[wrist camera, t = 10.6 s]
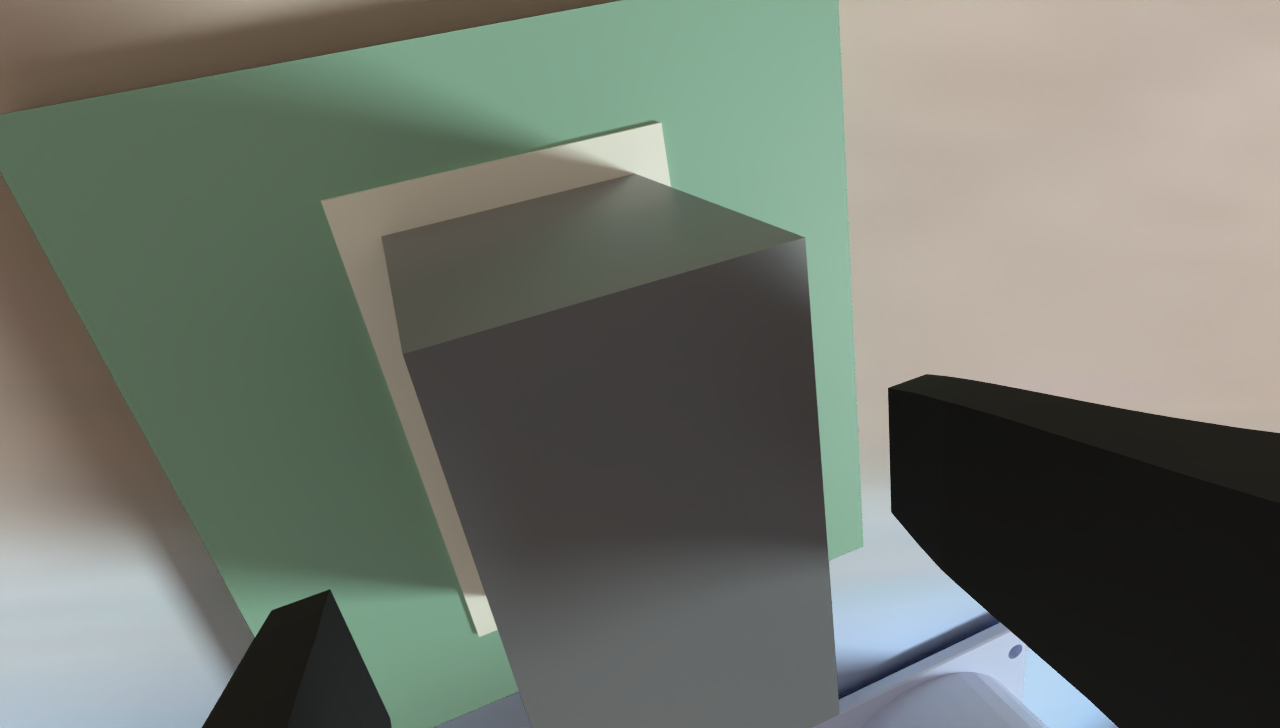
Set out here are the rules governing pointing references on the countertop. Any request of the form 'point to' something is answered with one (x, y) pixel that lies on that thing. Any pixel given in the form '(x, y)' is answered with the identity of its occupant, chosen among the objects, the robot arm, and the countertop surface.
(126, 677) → the countertop surface
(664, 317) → the block
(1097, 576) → the robot arm
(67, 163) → the board
